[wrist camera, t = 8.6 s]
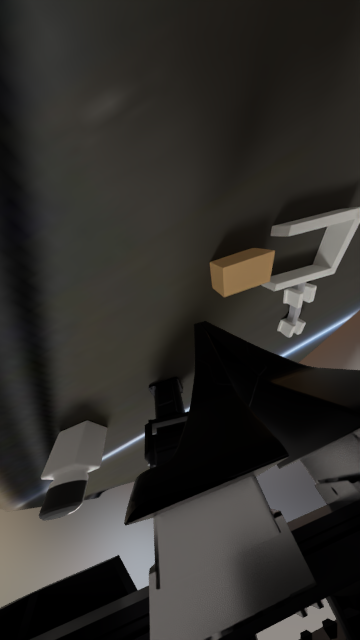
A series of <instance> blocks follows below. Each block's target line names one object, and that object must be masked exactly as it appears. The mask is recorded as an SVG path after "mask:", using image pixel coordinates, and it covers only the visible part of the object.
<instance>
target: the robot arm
mask: <svg viewBox="0 0 360 640" xmlns="http://www.w3.org/2000/svg"><path fill="white" fill-rule="evenodd" d="M194 338H195V375H194V384H193V391H192V398H191V405H190V410H189V412H185V410H184V405H183V401H182V397H181V393H183V390H182V387H181V384H180V382H179V379H178V378H177V377H176V378H172V379H169V380H166V381H163V382H160V383H157V384H154V385H151V386H149V390H150V392H151V393H152V395H153V396H154V398H155V413H156V419H154V420H152V419H151V420H149V423H148V424H146V425H145V460H146V461H147V462H148V466H150V469H149V470H147V471H145V472H143V473H142V474H140V475H139V476H138V477H137V478H136V480H135V483H134V487H133V490H132V493H131V497H130V500H129V504H128V507H127V512H126V516H125V522H124V524H125V525H129V524H132V523H136V522H139V521H142V520H146V519H150V518H154V546H155V564H154V565H153V566H152V567H151V568H150V571H149V586H147V587H145V588H142V589H140V590H137V588H136V587H135V585H134V583H133V581H132V579H131V577H130V576H129V573H128V572H127V570H126V568H125V566H124V564H123V562H122V560H121V558H120V556H119V555H118V556H115V557H113V558H111V559H109V560H106V561H104V562H102V563H99V564H97V565H95V566H92V567H90V568H88V569H85V570H83V571H80V572H78V573H76V574H73V575H71V576H69V577H66V578H64V579H62V580H60V581H57V582H55V583H52V584H50V585H48V586H45V587H43V588H41V589H39V590H37V591H35V592H32V593H30V594H28V595H26V596H24V597H22V598H19V599H17V600H15V601H13V602H11V603H9V604H7V605H5V606H3V607H1V608H0V640H258V639H257V635H256V634H257V633H259V632H260V631H263V630H264V629H266V628H268V627H270V626H272V625H274V624H276V623H278V622H280V621H282V620H284V619H286V618H288V617H290V616H292V615H293V614H297V615H299V616H301V617H306V616H307V607H309V606H314V607H316V608H318V609H321V608H323V607H324V605H323V600H322V599H324V598H326V599H327V601H328V603H329V605H330V607H331V609H332V611H333V613H334V615H335V617H336V620H335V621H332V620H330V619H326V620H324V621H322V624H323V627H322V628H320V629H318V630H316V631H314V632H312V633H311V632H309V631H307V630H305V631H303V632H301V633H300V634H301V639H299V640H360V370H346V369H329V368H316V367H310V366H306V365H303V364H300V363H297V362H294V361H292V360H289V359H287V358H284V357H282V356H279V355H277V354H274V353H272V352H269V351H267V350H264V349H262V348H260V347H258V346H256V345H253V344H251V343H249V342H247V341H245V340H243V339H241V338H239V337H237V336H235V335H233V334H231V333H229V332H227V331H225V330H223V329H221V328H219V327H217V326H215V325H213V324H211V323H208V322H206V321H203V322H200V323H197V324H194ZM152 433H156V434H155V435H152ZM299 460H300V461H301V462H302V464H303V465H304V467H305V468H306V470H307V471H308V473H309V474H310V475H311V477H312V478H313V480H314V481H315V483H316V485H315V487H316V489H317V490H318V492H319V493H320V495H321V496H322V498H323V499H324V501H325V502H326V504H327V505H325V506H323V507H321V508H319V509H316V510H314V511H312V512H310V513H308V514H305V515H303V516H301V517H299V518H297V519H294V520H292V521H290V522H288V523H286V521H285V519H284V517H283V515H282V513H281V512H280V511H279V510H275V509H270V507H269V505H268V502H267V501H266V498H265V496H264V494H263V492H262V489H261V487H260V485H259V483H258V481H257V478H256V476H258V475H260V474H261V473H263V472H265V471H266V470H268V469H270V468H271V467H273V466H275V465H276V464H277V466H278V467H279V469H280V468H282V467H284V466H287V465H290V464H292V463H294V462H297V461H299Z"/></svg>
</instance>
